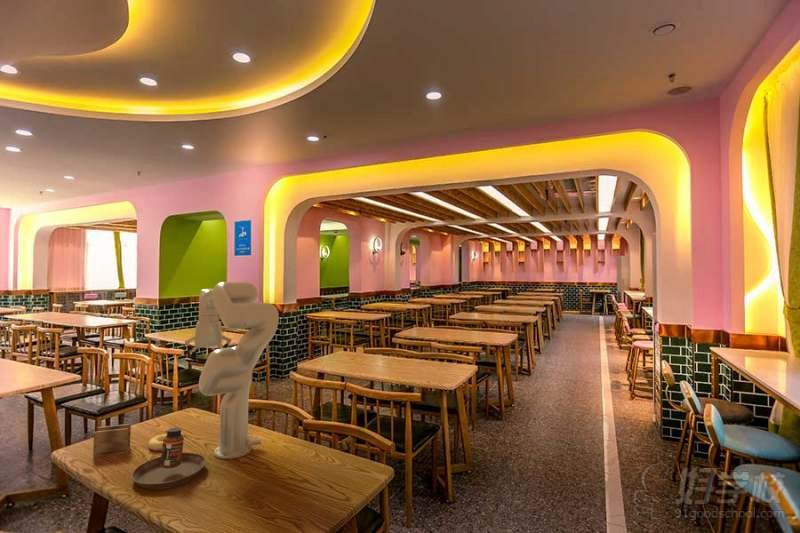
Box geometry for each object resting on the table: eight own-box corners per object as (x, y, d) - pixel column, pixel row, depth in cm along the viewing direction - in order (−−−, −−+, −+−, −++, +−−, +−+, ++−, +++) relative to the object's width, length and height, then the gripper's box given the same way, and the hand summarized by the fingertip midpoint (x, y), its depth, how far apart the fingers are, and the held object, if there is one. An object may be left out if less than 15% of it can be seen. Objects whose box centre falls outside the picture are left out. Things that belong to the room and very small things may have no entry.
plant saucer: (116, 484, 127) (116, 473, 127) (176, 456, 146) (176, 447, 146) (162, 501, 119) (162, 489, 119) (219, 469, 138) (219, 459, 138)
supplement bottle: (169, 470, 129) (172, 433, 129) (155, 466, 131) (159, 430, 132) (185, 463, 134) (188, 428, 135) (172, 460, 136) (175, 425, 137)
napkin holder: (130, 447, 151) (130, 423, 152) (127, 452, 147) (127, 428, 147) (97, 451, 148) (98, 427, 148) (93, 457, 143) (93, 432, 143)
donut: (152, 460, 147) (181, 449, 153) (150, 448, 146) (179, 438, 152) (147, 446, 154) (174, 436, 160) (145, 435, 153) (173, 425, 159)
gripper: (231, 317, 176) (230, 357, 176) (186, 318, 169) (185, 360, 169) (231, 319, 169) (230, 361, 169) (184, 320, 162) (183, 364, 162)
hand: (207, 360), depth 169 cm, fingers open, 9 cm apart
